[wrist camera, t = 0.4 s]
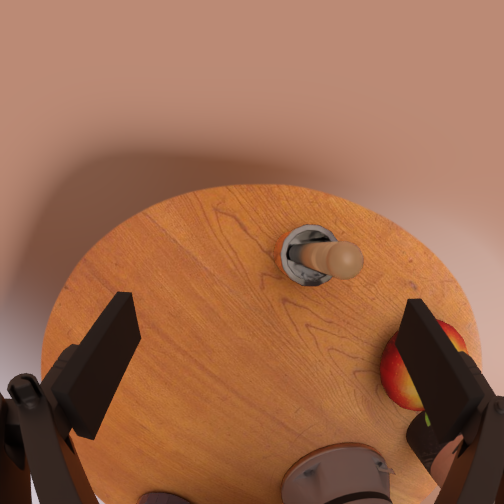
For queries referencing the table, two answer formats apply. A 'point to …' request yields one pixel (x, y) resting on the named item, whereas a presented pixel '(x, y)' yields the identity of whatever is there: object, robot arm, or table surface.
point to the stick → (329, 258)
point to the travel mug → (431, 449)
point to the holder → (296, 270)
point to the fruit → (399, 378)
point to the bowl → (160, 499)
